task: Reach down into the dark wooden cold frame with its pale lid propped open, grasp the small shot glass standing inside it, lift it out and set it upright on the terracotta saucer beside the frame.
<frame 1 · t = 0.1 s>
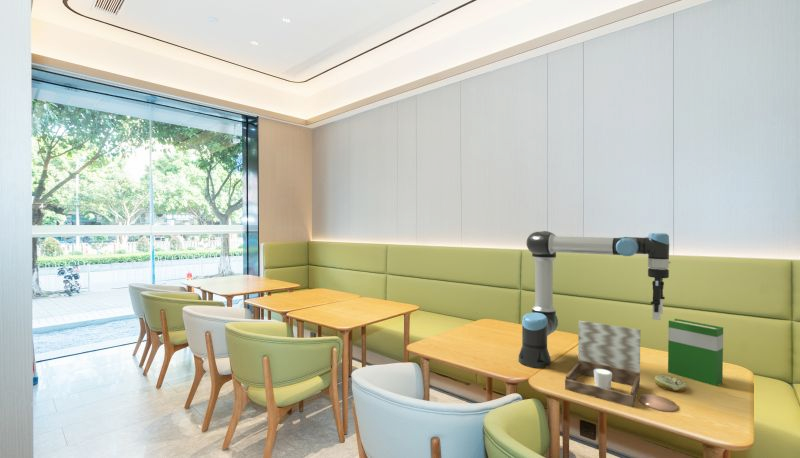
hand: (657, 316, 162), 28 cm above the table, tool pointing down, fingers open, 13 cm apart
hardback book: (694, 377, 165), on the table
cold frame: (602, 387, 154), on the table
terracotta saucer: (657, 403, 141), on the table
decorated donut: (670, 387, 155), on the table
shot glass: (602, 388, 154), resting in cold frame
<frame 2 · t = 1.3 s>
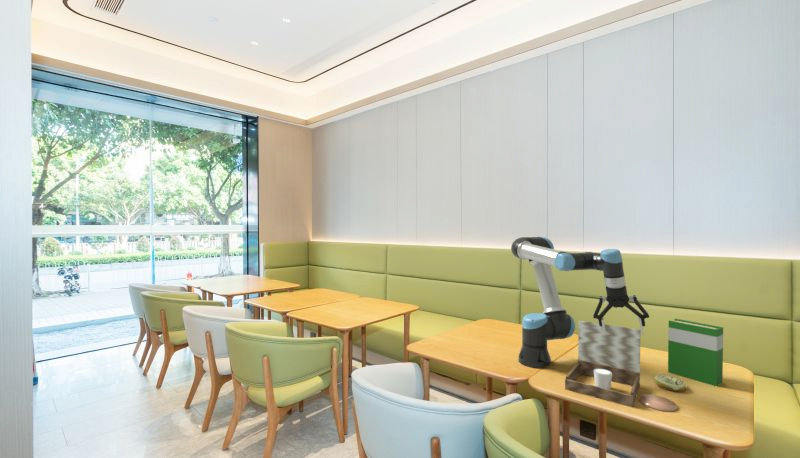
hand: (622, 333, 158), 22 cm above the table, tool pointing down, fingers open, 13 cm apart
nothing on the table moved.
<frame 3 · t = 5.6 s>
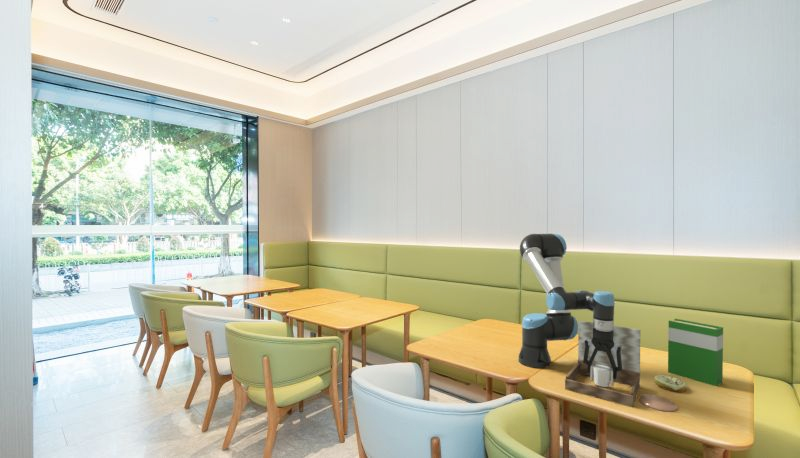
hand: (601, 382, 155), 2 cm above the table, tool pointing down, fingers closed on shot glass, 7 cm apart
shot glass: (601, 384, 155), point 1 cm above the table, touching gripper
everything else where it was.
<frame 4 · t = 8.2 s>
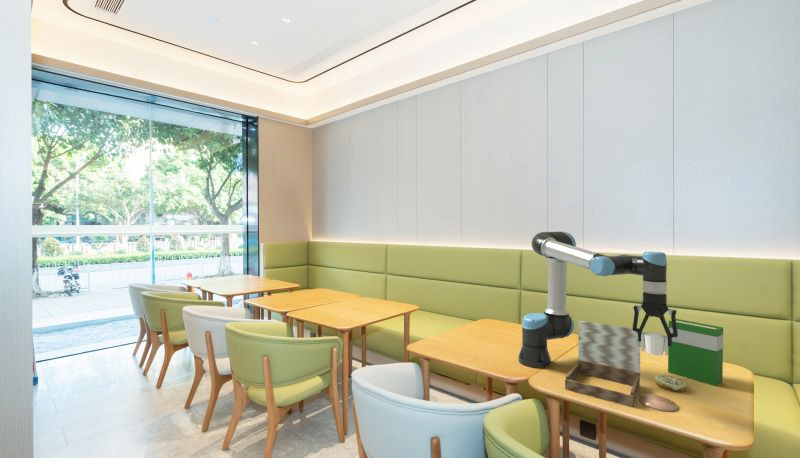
hand: (654, 352, 141), 20 cm above the table, tool pointing down, fingers closed on shot glass, 7 cm apart
shot glass: (654, 353, 141), point 19 cm above the table, touching gripper
everything else where it was.
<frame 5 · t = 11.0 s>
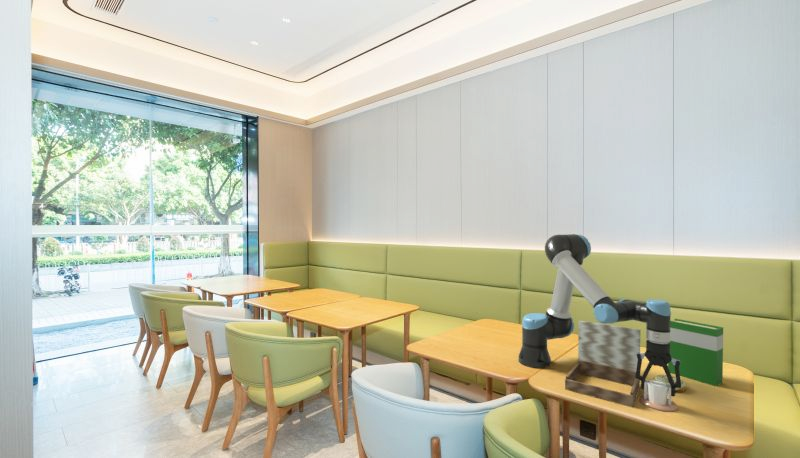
hand: (657, 400, 141), 1 cm above the table, tool pointing down, fingers closed on shot glass, terracotta saucer, 7 cm apart
shot glass: (657, 402, 141), point 1 cm above the table, touching gripper, terracotta saucer
everything else where it was.
when the fingers open (1 cm above the table, at t = 11.9 s): shot glass stays where it is, resting on terracotta saucer.
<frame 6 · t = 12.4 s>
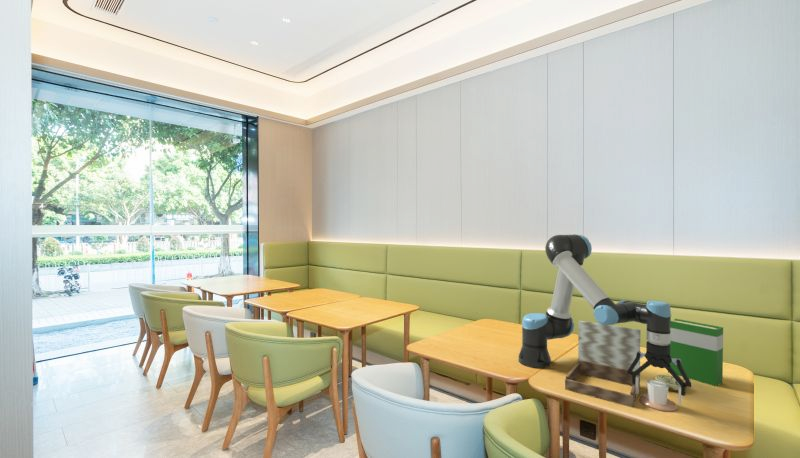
hand: (657, 398, 141), 2 cm above the table, tool pointing down, fingers open, 13 cm apart
shot glass: (657, 402, 141), point 1 cm above the table, touching terracotta saucer
everything else where it was.
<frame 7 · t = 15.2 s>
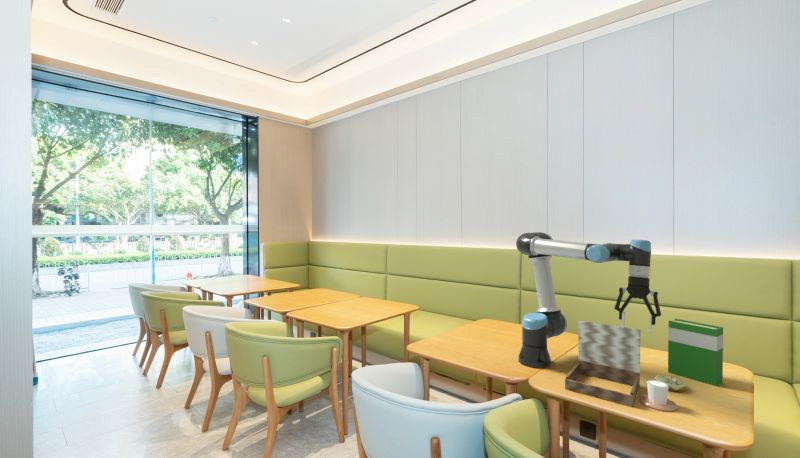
hand: (636, 330, 155), 24 cm above the table, tool pointing down, fingers open, 9 cm apart
nothing on the table moved.
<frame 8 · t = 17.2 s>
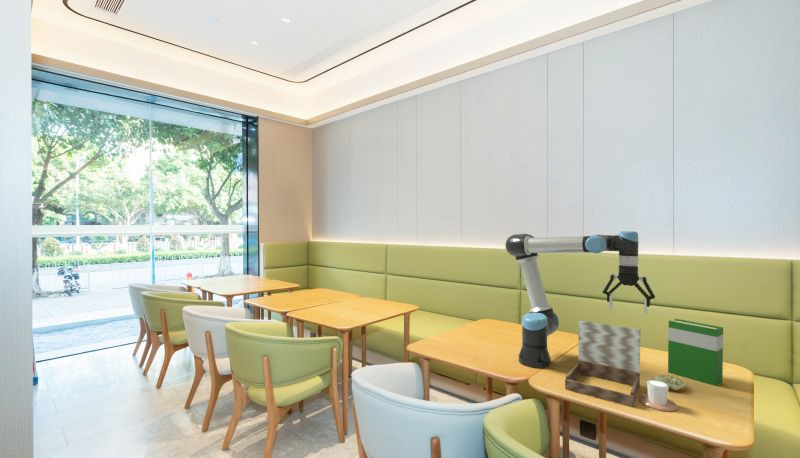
hand: (627, 311, 168), 29 cm above the table, tool pointing down, fingers open, 13 cm apart
nothing on the table moved.
at the end: shot glass 0.0 cm from the terracotta saucer (horizontally); shot glass tilted 0°; shot glass touching terracotta saucer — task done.
